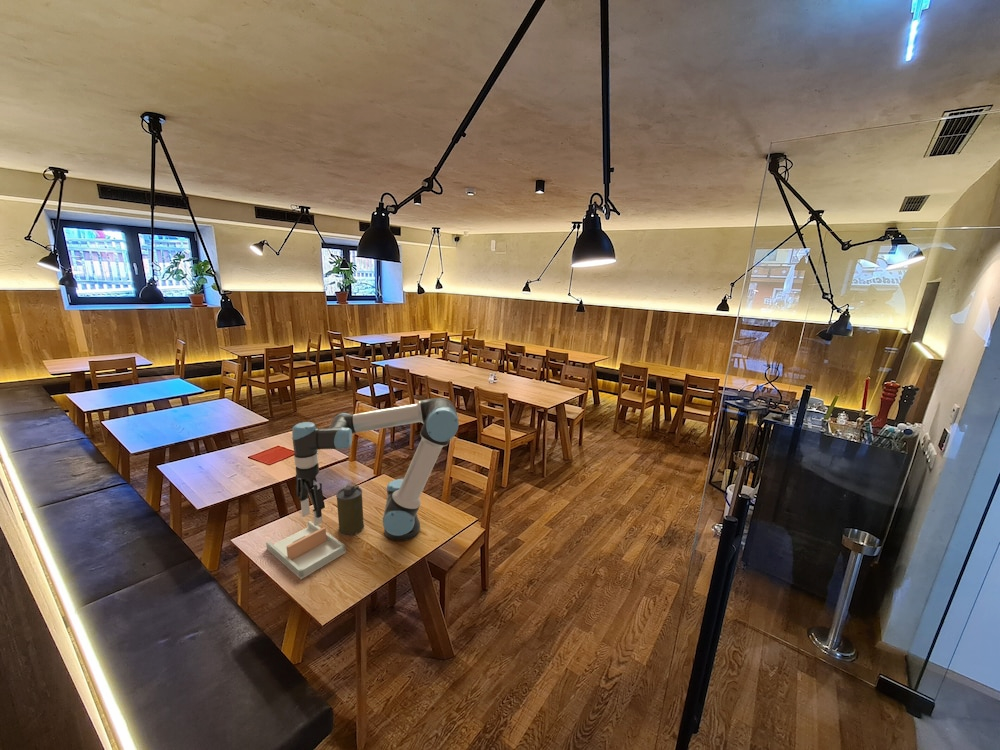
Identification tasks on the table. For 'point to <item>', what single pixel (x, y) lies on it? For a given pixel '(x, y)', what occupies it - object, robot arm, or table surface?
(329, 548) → the white tray
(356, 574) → the table surface
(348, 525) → the canister
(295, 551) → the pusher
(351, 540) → the table surface
